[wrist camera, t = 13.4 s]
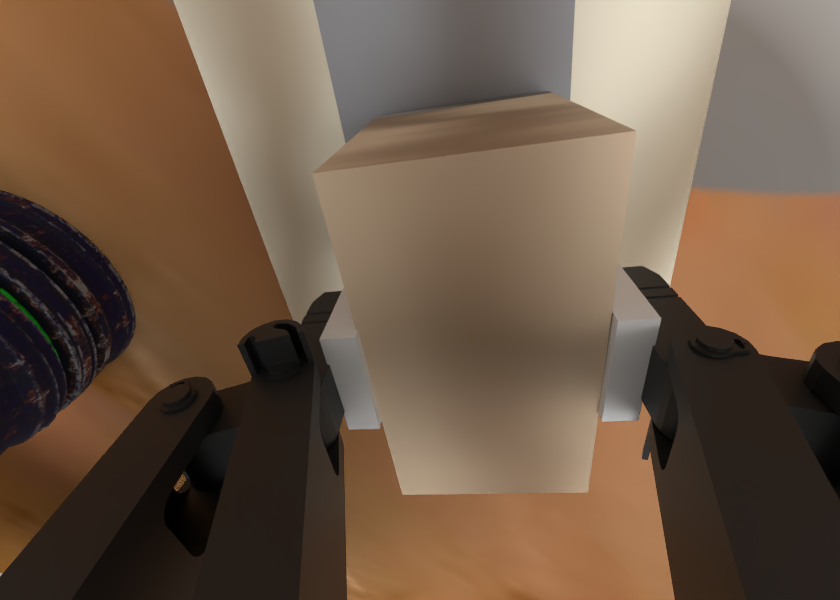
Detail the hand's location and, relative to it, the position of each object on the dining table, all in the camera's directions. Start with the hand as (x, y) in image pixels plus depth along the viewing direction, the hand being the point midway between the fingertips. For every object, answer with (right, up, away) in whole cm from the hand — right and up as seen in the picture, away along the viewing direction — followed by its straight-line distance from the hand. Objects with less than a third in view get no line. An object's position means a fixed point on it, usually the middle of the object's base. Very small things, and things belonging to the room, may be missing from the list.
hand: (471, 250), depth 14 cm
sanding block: (0, 0, 0) cm, 0 cm away
